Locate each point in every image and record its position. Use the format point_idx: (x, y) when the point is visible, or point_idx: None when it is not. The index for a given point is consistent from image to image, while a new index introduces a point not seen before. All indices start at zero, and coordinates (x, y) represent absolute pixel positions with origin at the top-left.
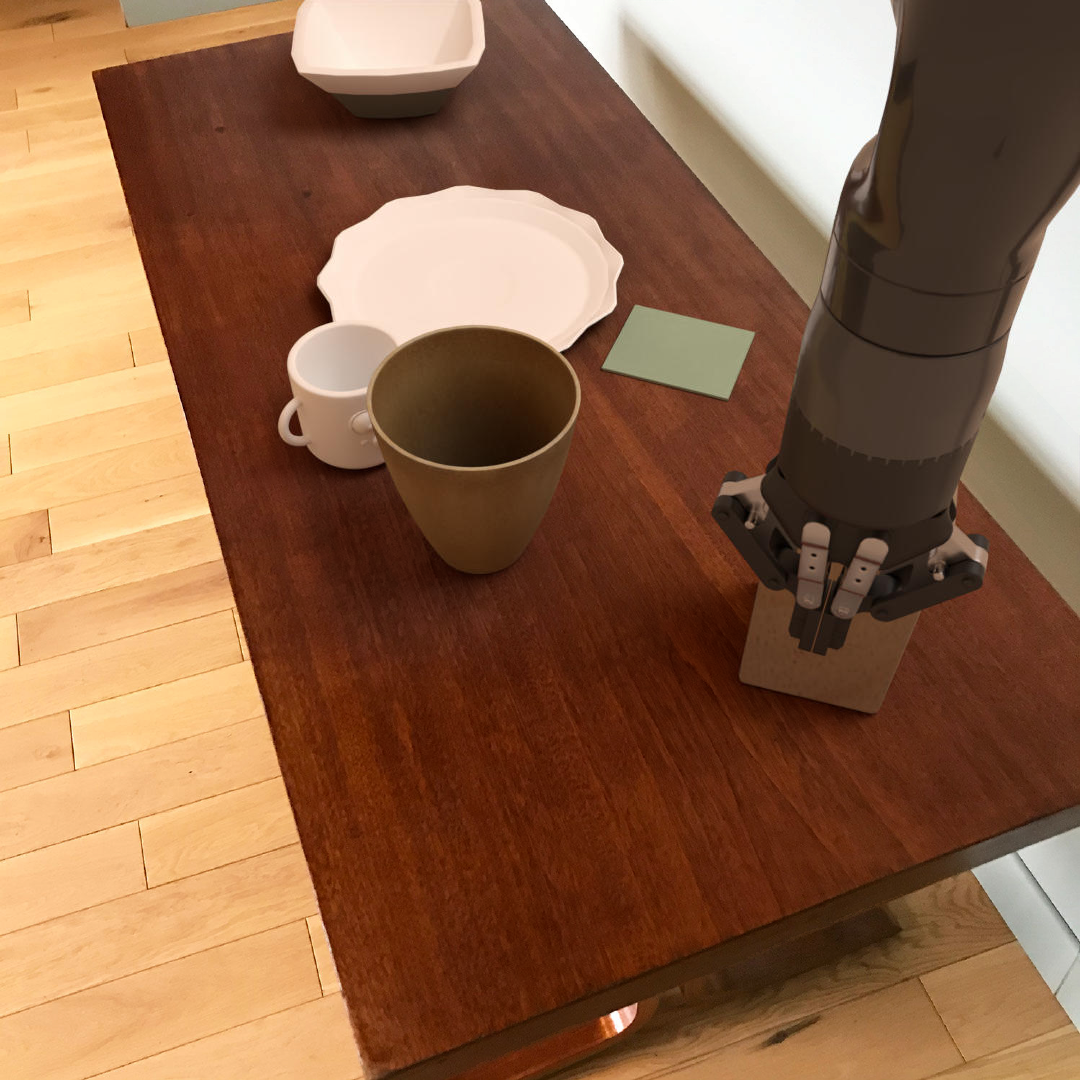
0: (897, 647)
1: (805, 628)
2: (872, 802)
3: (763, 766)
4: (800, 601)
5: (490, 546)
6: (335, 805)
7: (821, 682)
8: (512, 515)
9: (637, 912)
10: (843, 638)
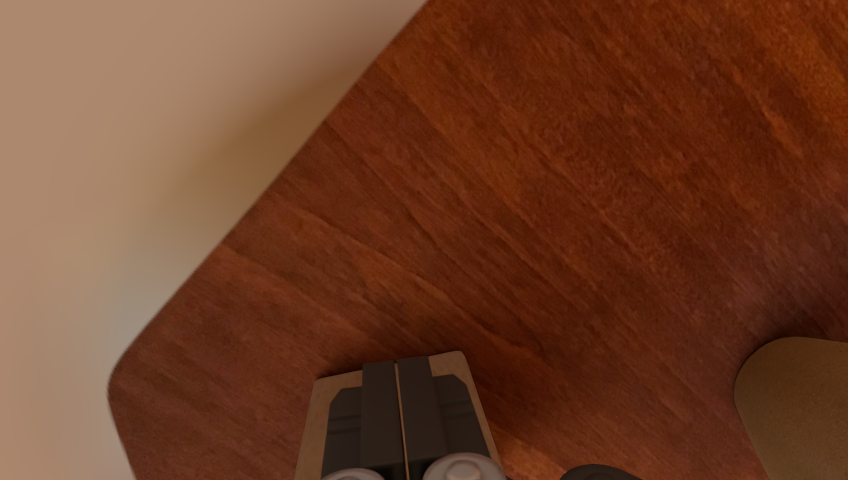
0: (304, 461)
1: (431, 400)
2: (281, 283)
3: (401, 269)
4: (485, 467)
5: (810, 369)
6: (819, 6)
7: None
8: (837, 415)
9: (464, 44)
10: (333, 419)
